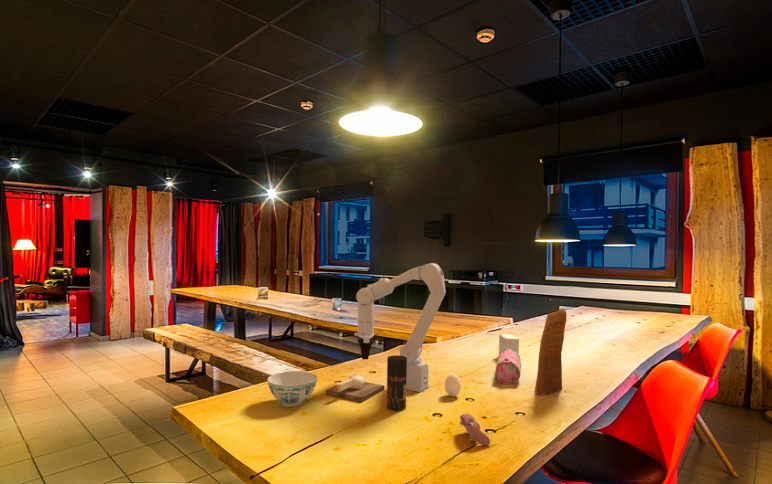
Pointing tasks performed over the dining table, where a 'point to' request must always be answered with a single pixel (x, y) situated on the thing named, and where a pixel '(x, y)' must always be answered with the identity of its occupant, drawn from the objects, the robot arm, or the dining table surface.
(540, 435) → the dining table surface
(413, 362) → the robot arm
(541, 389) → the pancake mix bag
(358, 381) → the white joystick lever
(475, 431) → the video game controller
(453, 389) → the egg
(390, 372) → the deodorant
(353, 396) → the flat rectangular base
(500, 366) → the pencil case
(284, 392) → the chinaware
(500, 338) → the skincare box
